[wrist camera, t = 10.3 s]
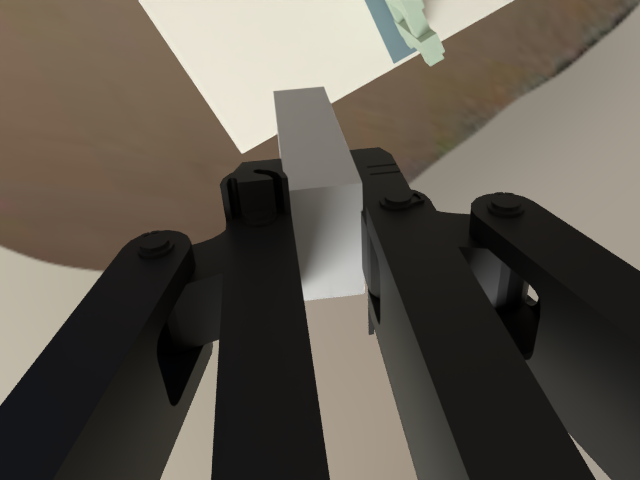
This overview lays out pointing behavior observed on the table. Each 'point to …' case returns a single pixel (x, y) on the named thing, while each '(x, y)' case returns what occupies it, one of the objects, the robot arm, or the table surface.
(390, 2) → the fence gate
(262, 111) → the card
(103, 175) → the table surface
